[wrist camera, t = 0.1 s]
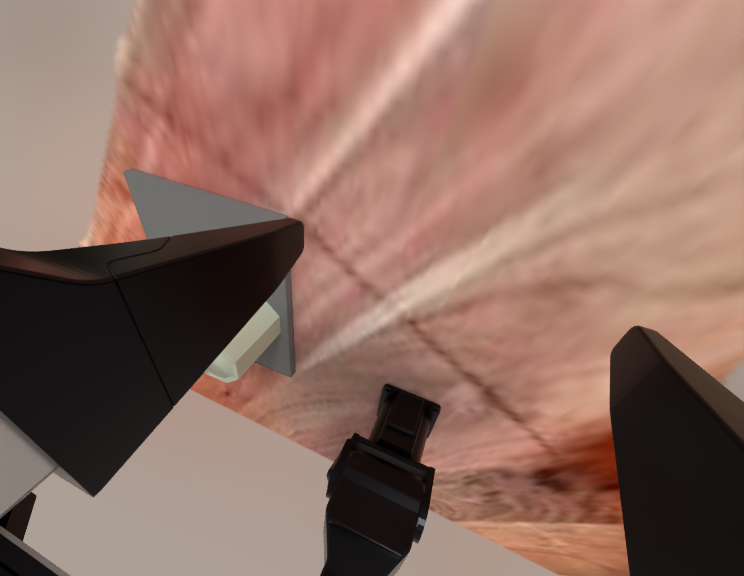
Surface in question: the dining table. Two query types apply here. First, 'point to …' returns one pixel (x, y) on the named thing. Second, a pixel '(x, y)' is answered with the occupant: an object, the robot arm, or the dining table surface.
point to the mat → (207, 212)
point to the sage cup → (246, 345)
